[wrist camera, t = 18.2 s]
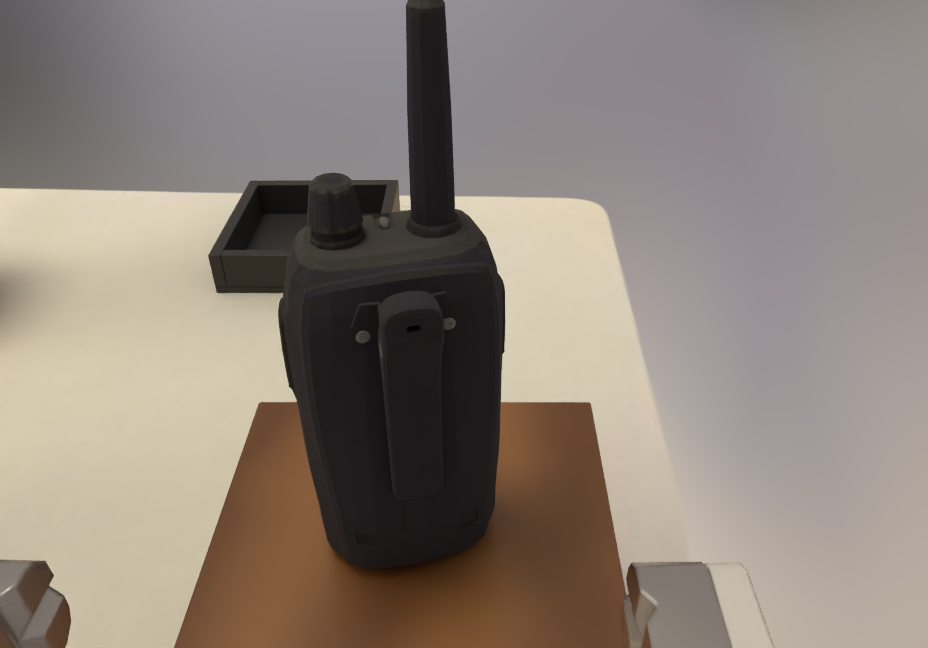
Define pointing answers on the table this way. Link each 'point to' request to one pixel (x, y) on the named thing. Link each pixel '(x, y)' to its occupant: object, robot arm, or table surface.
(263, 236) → the tray
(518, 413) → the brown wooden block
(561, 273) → the table surface
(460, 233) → the two-way radio
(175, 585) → the table surface
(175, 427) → the table surface
